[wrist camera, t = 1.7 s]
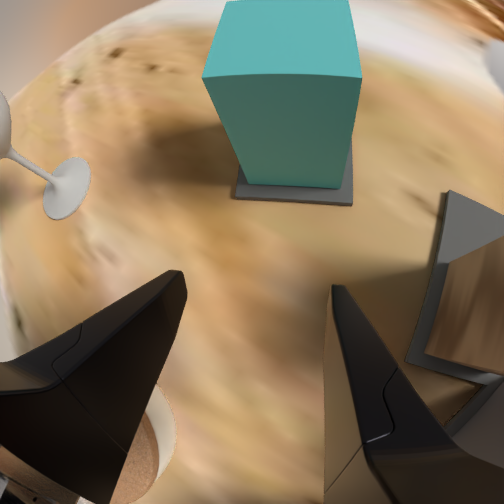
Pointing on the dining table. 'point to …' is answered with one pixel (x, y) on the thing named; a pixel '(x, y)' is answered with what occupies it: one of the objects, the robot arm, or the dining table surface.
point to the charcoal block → (485, 431)
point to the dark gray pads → (449, 248)
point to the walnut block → (472, 311)
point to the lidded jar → (148, 450)
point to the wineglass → (59, 183)
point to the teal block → (286, 88)
